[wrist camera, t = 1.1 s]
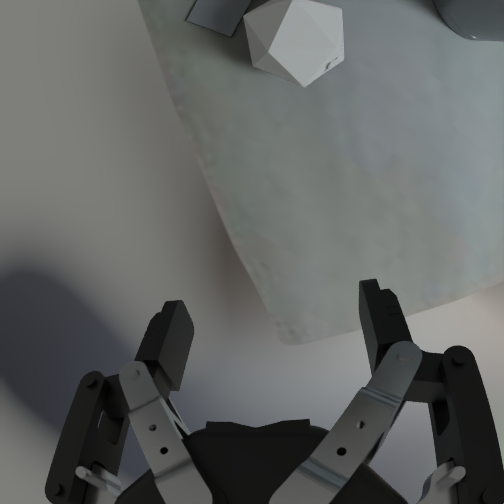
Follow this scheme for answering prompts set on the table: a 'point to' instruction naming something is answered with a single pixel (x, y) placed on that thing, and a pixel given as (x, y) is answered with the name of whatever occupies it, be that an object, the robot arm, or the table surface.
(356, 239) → the table surface
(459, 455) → the robot arm
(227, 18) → the pad
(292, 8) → the die
